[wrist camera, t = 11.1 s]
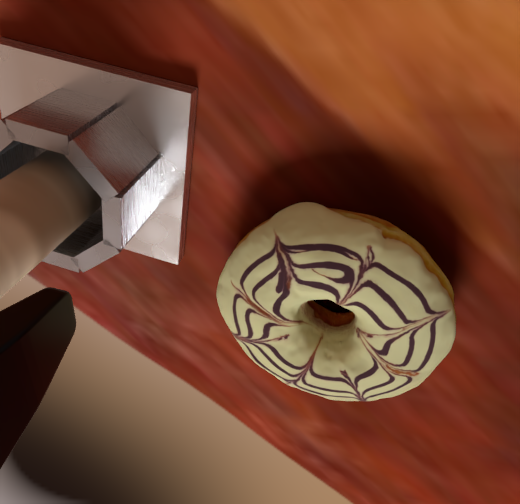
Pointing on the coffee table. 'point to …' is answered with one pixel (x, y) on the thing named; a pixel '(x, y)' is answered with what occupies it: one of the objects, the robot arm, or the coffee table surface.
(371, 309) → the decorated donut
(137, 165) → the cup bracket
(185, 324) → the coffee table surface
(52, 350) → the robot arm
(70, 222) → the wooden post
